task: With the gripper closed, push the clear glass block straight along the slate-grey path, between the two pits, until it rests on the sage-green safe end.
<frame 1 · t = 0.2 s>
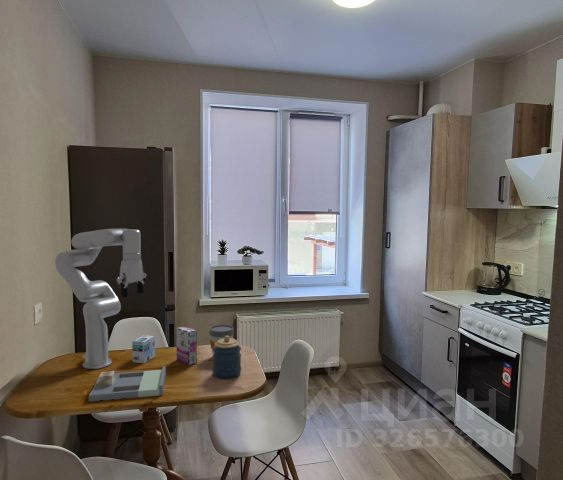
hand: (132, 294, 174), 36 cm above the table, tool pointing down, fingers open, 9 cm apart
candy bar box: (186, 361, 191), on the table
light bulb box: (144, 359, 194), on the table
reusable coffee cup: (221, 357, 198), on the table
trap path: (128, 387, 162), on the table
canister: (226, 374, 177), on the table
clear glass block: (106, 383, 159), point 2 cm above the table, touching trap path
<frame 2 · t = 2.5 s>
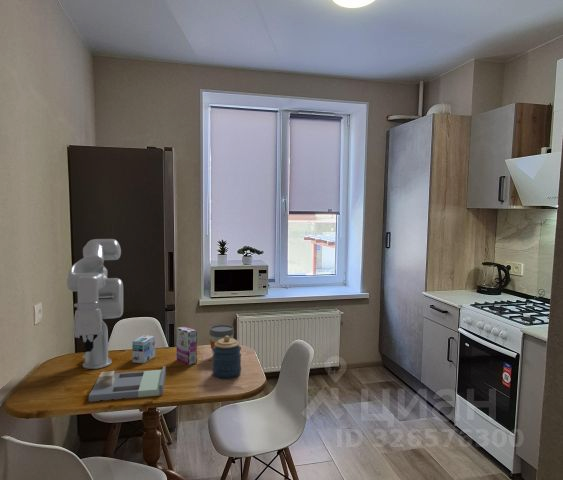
hand: (89, 350, 157), 17 cm above the table, tool pointing down, fingers closed
nothing on the table moved.
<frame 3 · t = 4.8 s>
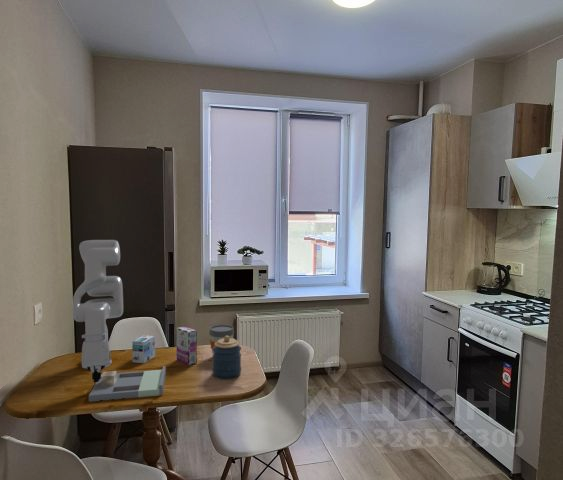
hand: (96, 380, 158), 4 cm above the table, tool pointing down, fingers closed
clear glass block: (108, 383, 160), point 2 cm above the table, touching gripper, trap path
everything else where it was.
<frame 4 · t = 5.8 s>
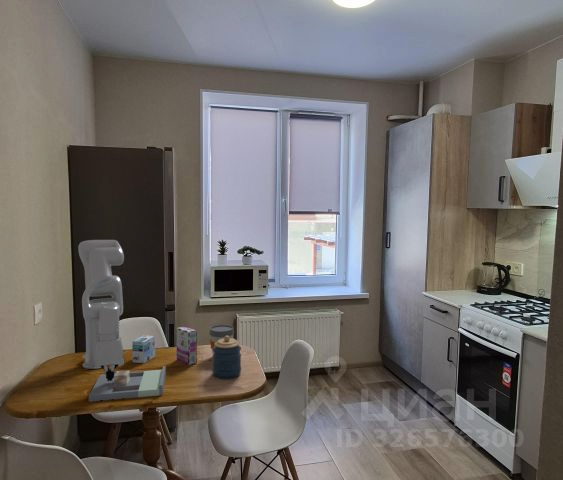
hand: (110, 379, 160), 4 cm above the table, tool pointing down, fingers closed
clear glass block: (121, 382, 160), point 2 cm above the table, touching gripper, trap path
everything else where it was.
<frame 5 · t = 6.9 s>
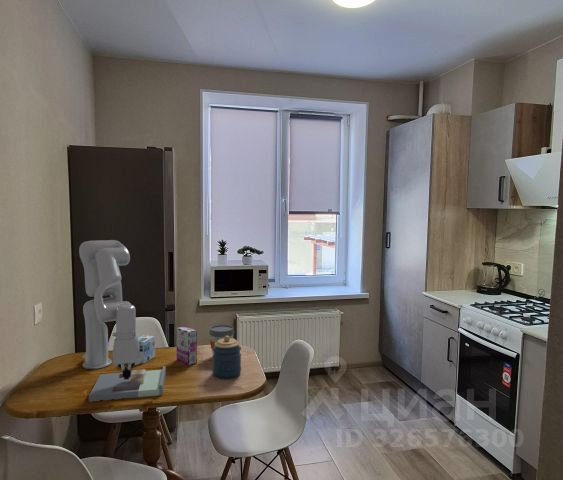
hand: (126, 378, 161), 4 cm above the table, tool pointing down, fingers closed
clear glass block: (138, 381, 162), point 3 cm above the table, touching gripper
everything else where it was.
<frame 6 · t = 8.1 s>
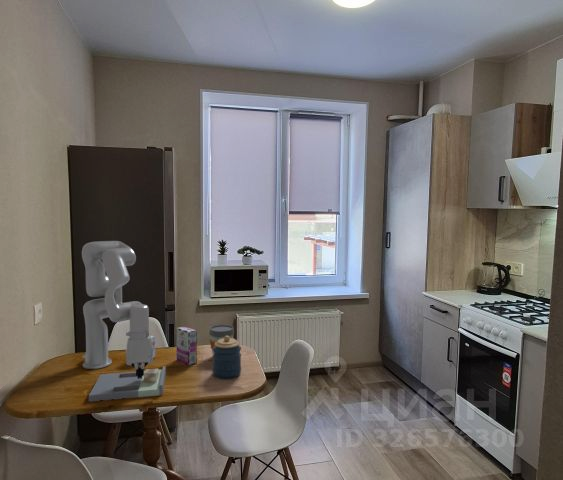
hand: (140, 377, 162), 4 cm above the table, tool pointing down, fingers closed
clear glass block: (151, 380, 163), point 3 cm above the table, touching gripper, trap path
everything else where it was.
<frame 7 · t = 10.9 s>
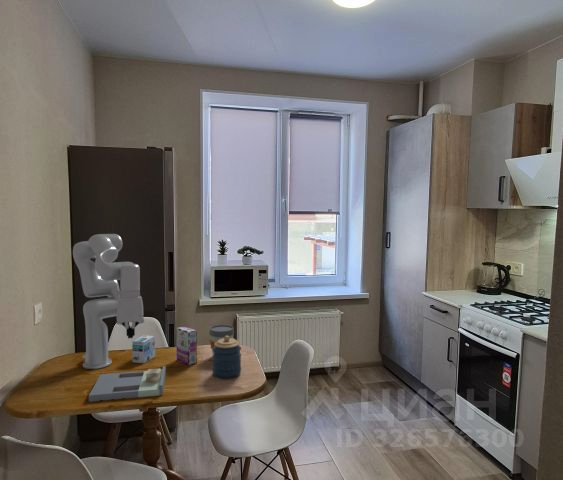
hand: (130, 337, 161), 21 cm above the table, tool pointing down, fingers closed
clear glass block: (153, 380, 163), point 2 cm above the table, touching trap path
everything else where it was.
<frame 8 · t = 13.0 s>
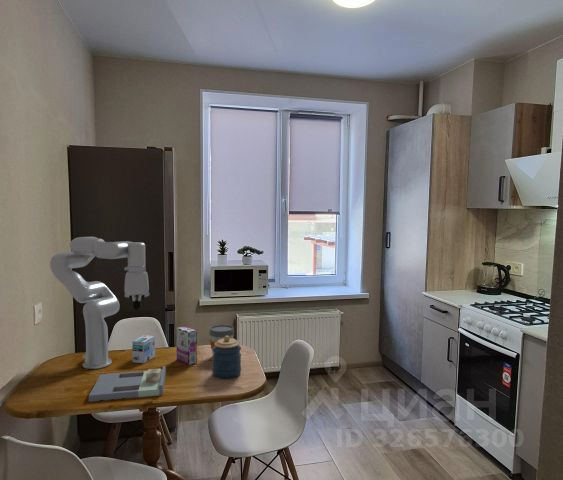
hand: (137, 309, 176), 29 cm above the table, tool pointing down, fingers closed
nothing on the table moved.
at the end: clear glass block inside the target area on the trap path (1.7 cm from its centre), point 2.5 cm above the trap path's base; clear glass block tilted 0° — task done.
